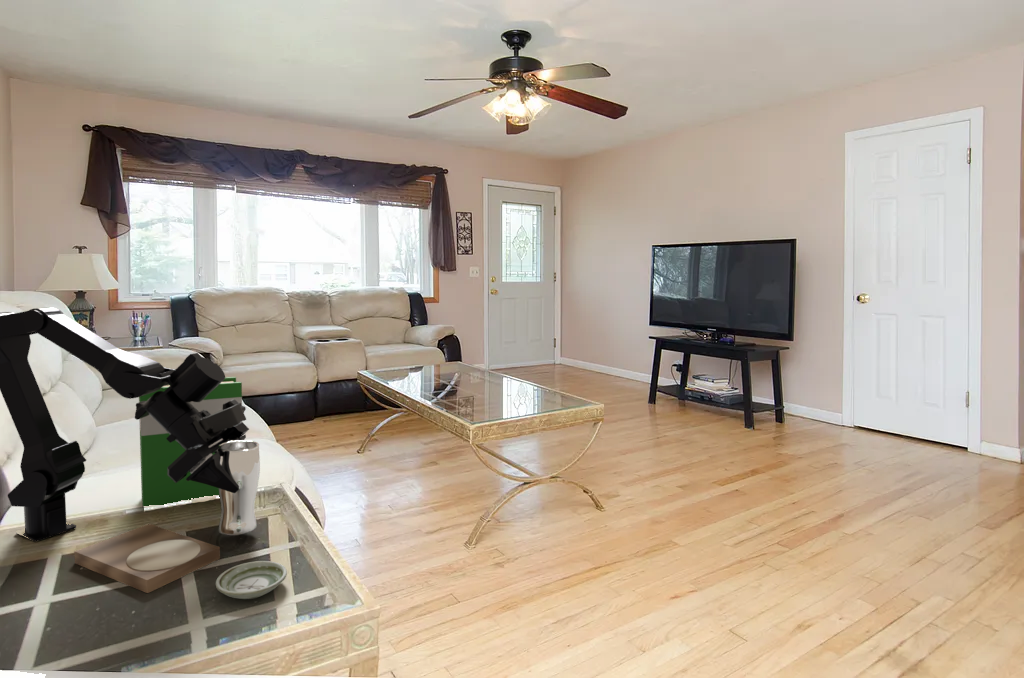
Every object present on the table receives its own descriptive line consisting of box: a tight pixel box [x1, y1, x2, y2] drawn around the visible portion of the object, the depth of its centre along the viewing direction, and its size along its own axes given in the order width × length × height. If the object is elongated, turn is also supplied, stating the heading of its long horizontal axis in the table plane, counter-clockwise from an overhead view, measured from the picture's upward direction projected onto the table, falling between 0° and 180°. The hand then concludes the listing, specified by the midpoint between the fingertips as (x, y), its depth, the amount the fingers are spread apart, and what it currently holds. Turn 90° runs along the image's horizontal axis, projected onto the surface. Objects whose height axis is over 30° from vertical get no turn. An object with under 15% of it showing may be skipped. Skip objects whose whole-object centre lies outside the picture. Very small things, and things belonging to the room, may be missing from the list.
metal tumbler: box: [218, 440, 261, 536], centre depth 103 cm, size 7×7×15 cm
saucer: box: [215, 560, 288, 600], centre depth 87 cm, size 10×10×2 cm
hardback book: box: [138, 376, 243, 507], centre depth 120 cm, size 18×7×24 cm, turn 124°
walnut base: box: [74, 523, 221, 594], centre depth 94 cm, size 18×12×2 cm, turn 65°
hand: (245, 483), depth 103 cm, fingers closed on metal tumbler, 7 cm apart
